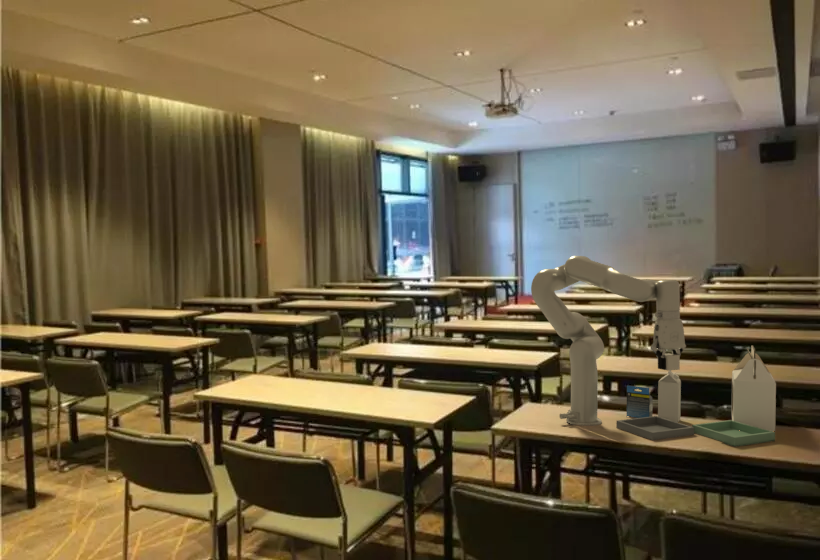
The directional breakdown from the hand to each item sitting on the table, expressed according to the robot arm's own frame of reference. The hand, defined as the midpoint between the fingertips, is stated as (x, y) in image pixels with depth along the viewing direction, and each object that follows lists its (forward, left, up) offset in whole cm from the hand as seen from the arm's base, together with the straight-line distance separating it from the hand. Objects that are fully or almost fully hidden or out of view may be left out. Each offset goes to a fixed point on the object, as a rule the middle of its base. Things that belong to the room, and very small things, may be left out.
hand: (668, 367), depth 233 cm
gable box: (+39, -1, -23) cm, 45 cm away
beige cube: (0, 0, 0) cm, 0 cm away
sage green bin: (+17, -12, -23) cm, 31 cm away
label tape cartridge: (+7, +22, -23) cm, 32 cm away
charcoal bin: (-3, +3, -23) cm, 23 cm away
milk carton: (+14, +14, -23) cm, 30 cm away
